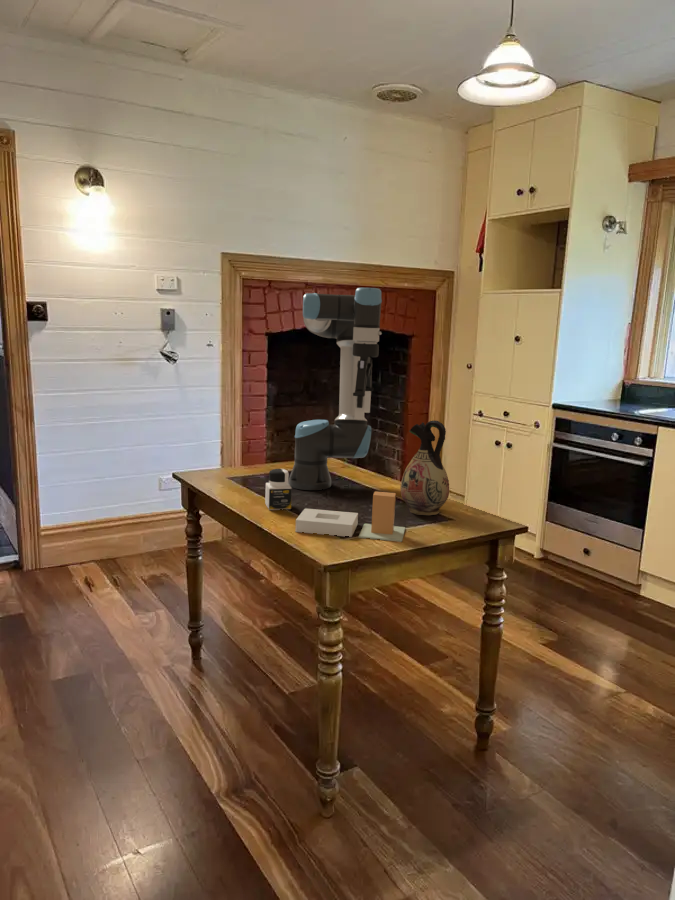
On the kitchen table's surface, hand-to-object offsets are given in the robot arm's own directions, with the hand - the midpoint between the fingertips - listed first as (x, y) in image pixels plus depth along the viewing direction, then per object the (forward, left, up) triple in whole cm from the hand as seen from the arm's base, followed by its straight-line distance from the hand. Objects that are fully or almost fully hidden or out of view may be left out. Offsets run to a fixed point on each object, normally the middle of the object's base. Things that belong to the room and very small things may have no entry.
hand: (362, 415), depth 202 cm
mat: (+12, +9, -32) cm, 35 cm away
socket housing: (+12, -7, -32) cm, 34 cm away
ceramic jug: (-13, +20, -32) cm, 40 cm away
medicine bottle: (-5, -26, -32) cm, 41 cm away
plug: (+12, +9, -31) cm, 34 cm away
